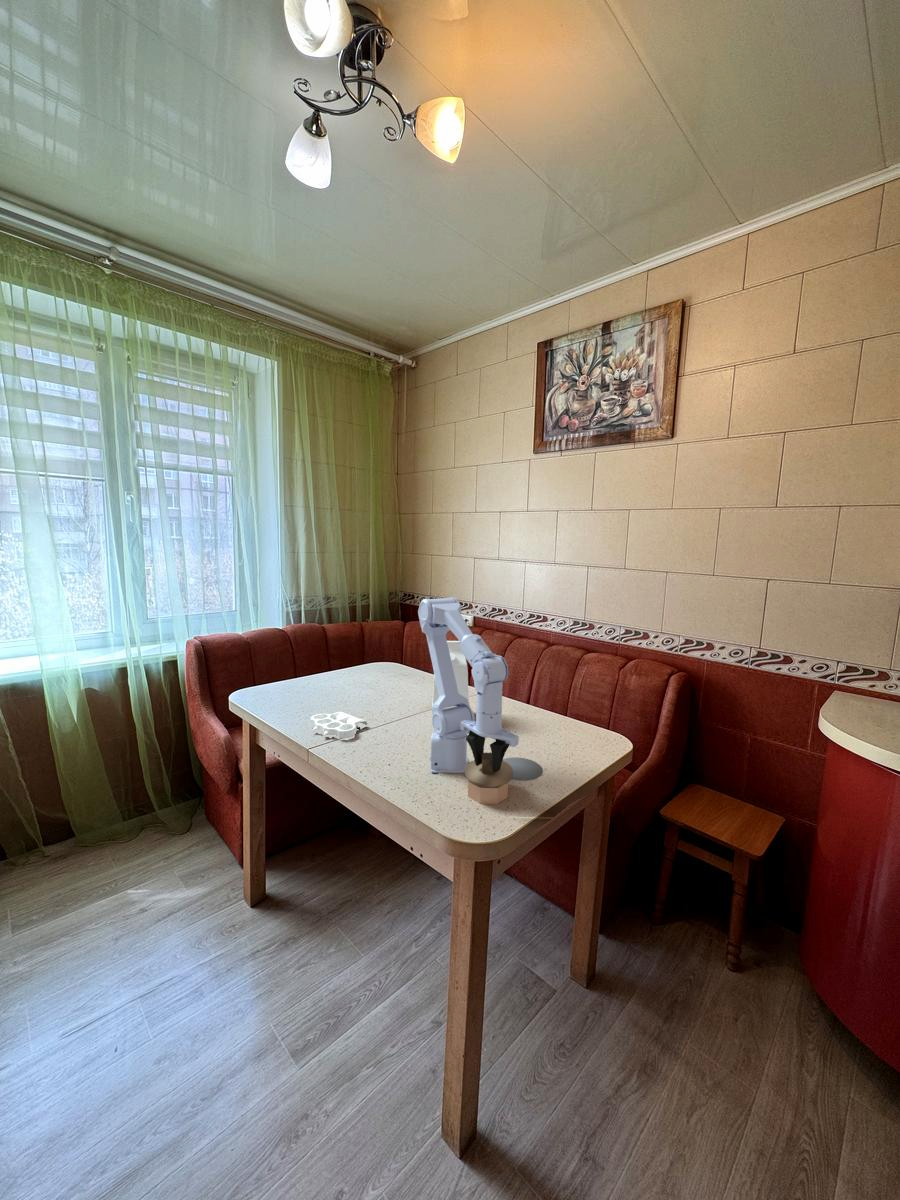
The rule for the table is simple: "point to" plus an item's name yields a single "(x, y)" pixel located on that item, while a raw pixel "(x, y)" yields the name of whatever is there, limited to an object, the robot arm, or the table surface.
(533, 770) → the mat
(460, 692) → the milk
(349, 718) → the white holed plate
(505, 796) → the bowl
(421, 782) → the table surface
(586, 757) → the table surface
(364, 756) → the table surface
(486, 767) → the lid
